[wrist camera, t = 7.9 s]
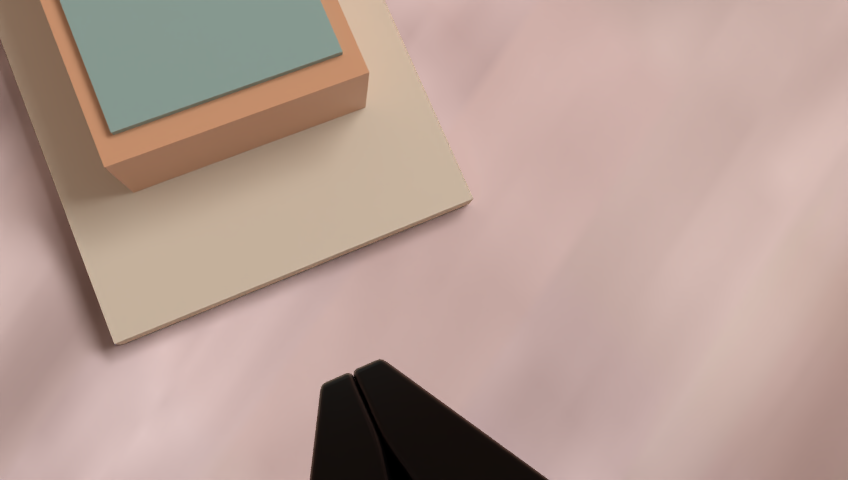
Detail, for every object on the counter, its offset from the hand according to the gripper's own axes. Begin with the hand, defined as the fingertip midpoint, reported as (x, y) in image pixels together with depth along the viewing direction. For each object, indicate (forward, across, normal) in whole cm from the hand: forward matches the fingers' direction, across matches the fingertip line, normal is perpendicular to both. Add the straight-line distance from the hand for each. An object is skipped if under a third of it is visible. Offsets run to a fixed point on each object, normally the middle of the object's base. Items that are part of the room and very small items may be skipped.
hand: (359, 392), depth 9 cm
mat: (+12, 0, 0) cm, 12 cm away
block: (+9, 0, 0) cm, 9 cm away
